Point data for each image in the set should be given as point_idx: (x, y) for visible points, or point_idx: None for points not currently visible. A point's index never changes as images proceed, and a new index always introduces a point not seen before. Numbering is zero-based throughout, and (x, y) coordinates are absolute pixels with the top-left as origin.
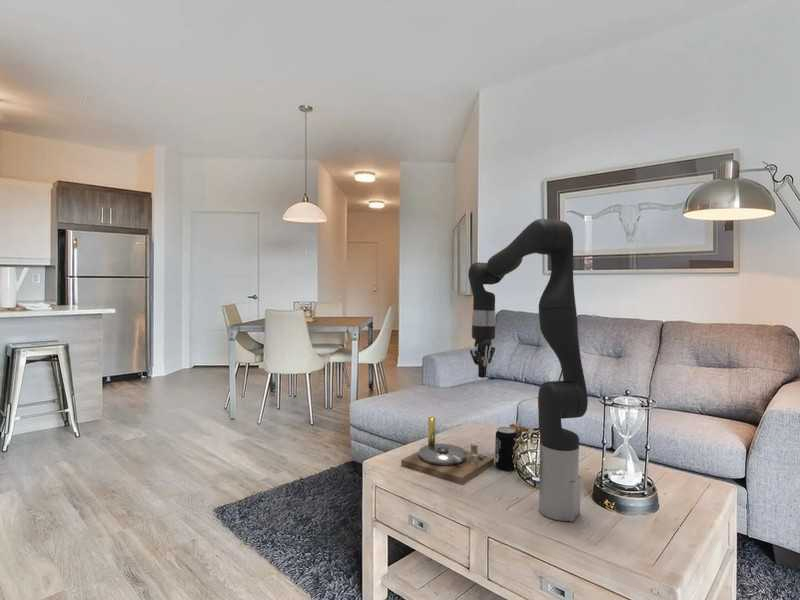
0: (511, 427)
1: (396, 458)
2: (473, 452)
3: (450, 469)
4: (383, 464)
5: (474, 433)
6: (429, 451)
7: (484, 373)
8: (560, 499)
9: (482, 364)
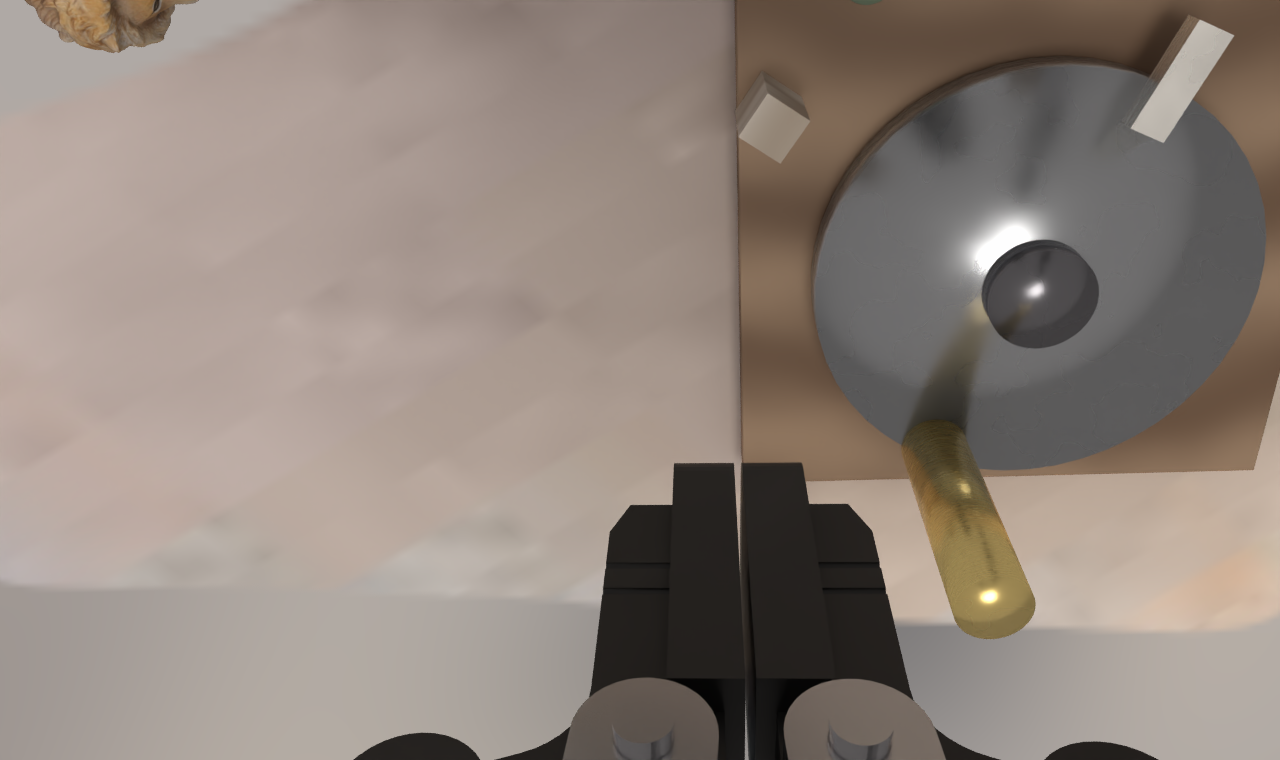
0: (139, 7)
1: (1107, 543)
2: (797, 100)
3: (1265, 54)
4: (1266, 540)
5: (179, 432)
6: (1096, 373)
7: (803, 521)
8: None
9: (1052, 757)
